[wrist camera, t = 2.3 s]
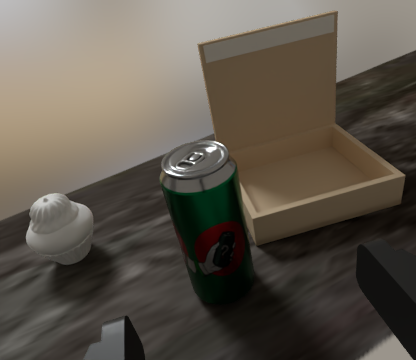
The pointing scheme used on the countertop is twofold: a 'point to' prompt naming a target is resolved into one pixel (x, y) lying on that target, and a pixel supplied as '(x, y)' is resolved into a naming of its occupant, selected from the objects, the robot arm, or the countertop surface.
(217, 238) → the soda can
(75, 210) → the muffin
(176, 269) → the countertop surface
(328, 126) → the mailer box
